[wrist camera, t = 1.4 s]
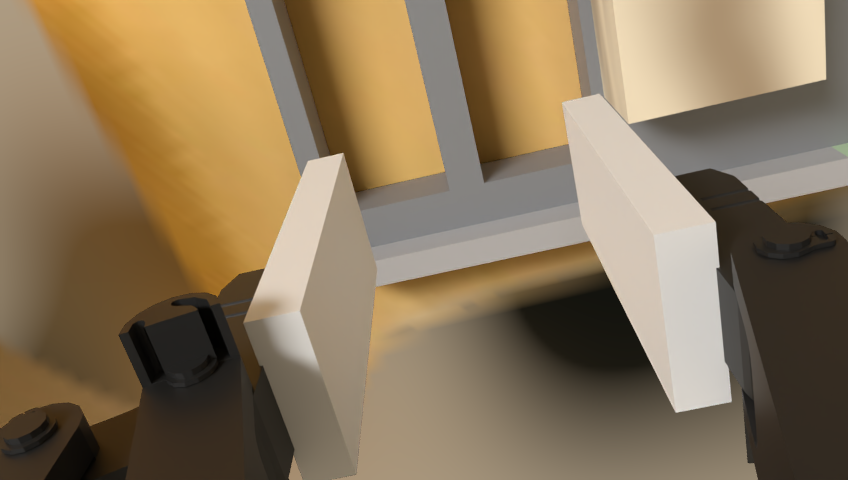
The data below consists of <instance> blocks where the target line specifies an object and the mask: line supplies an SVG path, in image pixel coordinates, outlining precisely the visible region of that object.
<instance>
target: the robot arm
mask: <svg viewBox="0 0 848 480" xmlns="http://www.w3.org/2000/svg"><path fill="white" fill-rule="evenodd" d="M562 106H563V112H564V118H565V124H566V130H567V136H568V142H569V148H570V155H571V161H572V167H573V173H574V179H575V185H576V191H577V197H578V203H579V209H580V215H581V221H582V225H583V227H584V229H585V231H586V233H587V235H588V237H589V240H590V242H591V244H592V246H593V248H594V250H595V252H596V254H597V256H598V258H599V260H600V262H601V264H602V266H603V268H604V270H605V272H606V274H607V276H608V278H609V280H610V282H611V284H612V286H613V288H614V289H615V292H616V294H617V295H618V298H619V300H620V302H621V304H622V306H623V308H624V310H625V312H626V314H627V316H628V318H629V320H630V322H631V324H632V326H633V328H634V330H635V332H636V334H637V336H638V338H639V340H640V342H641V344H642V346H643V348H644V350H645V352H646V354H647V356H648V358H649V360H650V362H651V364H652V366H653V368H654V370H655V372H656V374H657V376H658V378H659V380H660V382H661V384H662V386H663V388H664V390H665V392H666V394H667V396H668V398H669V400H670V402H671V404H672V406H673V408H674V410H675V412H676V413H677V412H681V411H687V410H692V409H697V408H702V407H707V406H712V405H718V404H723V403H728V402H732V401H731V390H730V378H729V369H730V370H731V372H732V373H733V375H734V376H735V378H736V379H737V381H738V382H739V384H740V385H741V387H742V397H743V408H744V409H743V410H744V422H745V434H746V446H747V457H748V458H747V459H748V463H754V464H755V468H756V472H757V477H758V480H848V242H847V240H846V239H844V237H842V236H841V235H840V234H839V233H838V232H837V231H835V230H832V229H829V228H826V227H824V226H821V225H815V224H808V223H800V222H796V223H787V222H785V221H784V220H783V219H782V218H781V217H780V216H779V215H778V214H777V213H775V212H774V211H773V210H772V209H771V208H770V207H769V206H768V205H766V204H765V203H764V202H763V201H760V200H759V197H758V196H756V195H755V194H754V193H753V192H752V191H751V190H750V191H749V190H748V188H747V187H746V186H745V185H744V184H743V183H742V182H741V181H740V180H739V179H737V178H736V177H735V176H733V175H730V174H727V173H724V172H721V171H717V170H714V169H711V168H709V169H704V170H700V171H695V172H691V173H686V174H682V175H677V176H674V175H673V174H672V173H671V172H670V171H669V170H668V169H667V168H666V166H665V165H664V164H663V163H662V162H661V161H660V160H659V159H658V158H657V157H656V155H655V154H654V153H653V152H652V151H651V150H650V149H649V148H648V147H647V145H646V144H645V143H644V142H643V141H642V140H641V139H640V138H639V137H638V136H637V134H636V133H635V132H634V131H633V130H632V129H631V128H630V127H629V126H628V125H627V123H626V122H625V121H624V120H623V119H622V118H621V117H620V116H619V115H618V113H617V112H616V111H615V110H614V109H613V108H612V107H611V106H610V105H609V104H608V102H607V101H606V100H605V99H604V98H603V97H602V96H601V95H600V94H596V95H592V96H587V97H583V98H579V99H574V100H570V101H566V102H562ZM376 276H377V267H376V263H375V260H374V256H373V253H372V249H371V246H370V242H369V239H368V236H367V232H366V229H365V225H364V222H363V218H362V215H361V211H360V208H359V205H358V201H357V198H356V194H355V191H354V187H353V184H352V181H351V177H350V174H349V170H348V167H347V163H346V160H345V156H344V153H340V154H336V155H332V156H327V157H323V158H319V159H314V160H310V161H308V162H307V164H306V167H305V169H304V172H303V174H302V177H301V179H300V182H299V184H298V187H297V189H296V192H295V194H294V197H293V199H292V202H291V204H290V207H289V209H288V212H287V214H286V217H285V219H284V222H283V224H282V227H281V229H280V232H279V235H278V237H277V240H276V242H275V245H274V247H273V250H272V252H271V255H270V257H269V260H268V262H267V265H266V267H265V269H260V270H256V271H251V272H247V273H242V274H239V275H238V276H237V277H236V278H234V279H233V280H232V281H231V282H230V283H229V284H228V285H227V286H226V287H225V288H223V289H222V290H221V292H220V294H219V296H218V298H217V296H215V295H212V294H209V293H190V294H186V295H181V296H177V297H173V298H170V299H168V300H165V301H163V302H160V303H157V304H155V305H153V306H151V307H149V308H148V309H146V310H144V311H142V312H141V313H139V314H137V315H136V316H135V317H134V318H132V319H131V320H130V321H129V322H128V323H127V324H125V325H124V327H123V329H122V330H121V332H120V334H119V337H120V339H121V342H122V344H123V346H124V348H125V350H126V352H127V354H128V356H129V359H130V361H131V363H132V365H133V368H134V370H135V372H136V374H137V376H138V378H139V380H140V383H141V385H142V387H143V389H142V394H141V400H140V405H139V407H137V408H135V409H133V410H131V411H128V412H126V413H123V414H121V415H118V416H116V417H113V418H111V419H108V420H106V421H103V422H100V423H98V424H95V425H93V426H89V424H88V422H87V420H86V418H85V416H84V414H83V412H82V410H81V408H80V406H78V405H75V404H72V403H58V404H51V405H48V406H44V407H41V408H33V409H31V410H28V411H26V412H25V414H24V415H23V413H22V414H20V415H18V416H16V417H14V418H13V419H11V420H10V421H9V423H8V424H6V425H5V426H3V427H2V428H0V480H289V479H288V477H289V473H290V468H291V463H292V459H293V455H294V457H295V460H296V462H297V465H298V468H299V470H300V473H301V475H302V478H303V480H331V479H337V478H341V477H347V476H352V475H356V473H357V462H358V453H359V443H360V433H361V424H362V414H363V404H364V394H365V384H366V375H367V365H368V355H369V345H370V335H371V326H372V316H373V306H374V296H375V286H376Z"/></svg>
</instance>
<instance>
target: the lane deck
mask: <svg viewBox="0 0 848 480" xmlns="http://www.w3.org/2000/svg"><path fill="white" fill-rule="evenodd" d="M245 2H246V5H247V8H248V12H249V15H250V18H251V21H252V24H253V27H254V30H255V34H256V37H257V40H258V43H259V46H260V49H261V52H262V56H263V59H264V62H265V65H266V68H267V71H268V74H269V78H270V81H271V84H272V87H273V90H274V93H275V96H276V100H277V103H278V106H279V109H280V112H281V115H282V118H283V122H284V125H285V128H286V131H287V134H288V137H289V140H290V144H291V147H292V150H293V153H294V156H295V159H296V162H297V166H298V169H299V172H300V175H301V177H302V174H303V172H304V169H305V167H306V164H307V162H308V161H310V160H314V159H319V158H323V157H327V156H330V153H329V149H328V146H327V143H326V139H325V136H324V133H323V129H322V126H321V122H320V119H319V116H318V112H317V109H316V106H315V102H314V99H313V96H312V92H311V89H310V86H309V82H308V79H307V75H306V72H305V69H304V65H303V62H302V59H301V55H300V52H299V49H298V45H297V42H296V39H295V35H294V32H293V29H292V25H291V22H290V18H289V15H288V12H287V8H286V5H285V2H284V0H245ZM405 3H406V8H407V12H408V16H409V20H410V25H411V29H412V33H413V37H414V41H415V46H416V50H417V54H418V58H419V63H420V67H421V71H422V75H423V79H424V84H425V88H426V92H427V96H428V101H429V105H430V109H431V113H432V117H433V122H434V126H435V130H436V134H437V139H438V143H439V147H440V151H441V156H442V160H443V164H444V168H445V172H444V173H439V174H435V175H430V176H426V177H421V178H417V179H413V180H408V181H404V182H399V183H395V184H390V185H386V186H382V187H377V188H373V189H368V190H364V191H359V192H355V194H356V198H357V201H358V205H359V208H360V211H361V215H362V218H363V222H364V225H365V229H366V232H367V236H368V239H369V242H370V246H371V249H372V253H373V256H374V260H375V263H376V267H377V276H376V286H375V287H378V286H382V285H387V284H392V283H396V282H401V281H406V280H410V279H415V278H420V277H424V276H429V275H434V274H438V273H443V272H448V271H452V270H457V269H462V268H466V267H471V266H476V265H480V264H485V263H490V262H494V261H499V260H504V259H508V258H513V257H517V256H522V255H527V254H531V253H536V252H541V251H545V250H550V249H555V248H559V247H564V246H569V245H573V244H578V243H583V242H587V241H590V240H589V237H588V235H587V233H586V231H585V229H584V227H583V225H582V221H581V215H580V209H579V203H578V197H577V191H576V185H575V179H574V173H573V167H572V161H571V155H570V148H569V144H568V145H563V146H559V147H554V148H550V149H545V150H541V151H537V152H532V153H528V154H523V155H519V156H514V157H510V158H506V159H501V160H497V161H492V162H488V163H483V164H480V161H479V157H478V152H477V148H476V143H475V138H474V134H473V129H472V124H471V120H470V115H469V111H468V106H467V101H466V97H465V92H464V87H463V83H462V78H461V74H460V69H459V64H458V60H457V55H456V51H455V46H454V41H453V37H452V32H451V27H450V23H449V18H448V14H447V9H446V4H445V0H405ZM567 3H568V9H569V16H570V22H571V29H572V35H573V42H574V48H575V55H576V61H577V68H578V74H579V81H580V87H581V94H582V98H583V97H587V96H592V95H596V94H600V95H601V96H602V97H603V98H604V92H603V85H602V78H601V71H600V64H599V57H598V50H597V43H596V36H595V28H594V21H593V14H592V7H591V0H567ZM824 4H825V47H826V80H821V81H817V82H812V83H808V84H804V85H799V86H795V87H790V88H786V89H782V90H777V91H773V92H768V93H764V94H759V95H755V96H751V97H746V98H742V99H737V100H733V101H729V102H724V103H720V104H715V105H711V106H707V107H702V108H698V109H693V110H689V111H684V112H680V113H676V114H671V115H667V116H662V117H658V118H654V119H649V120H645V121H640V122H636V123H632V124H628V123H627V122H626V121H625V119H624V118H623V117H622V116H621V115H620V114H619V113H618V112H617V111H616V110H615V108H614V107H613V106H612V105H611V104H610V103H609V102H608V101H607V100H606V99H605V98H604V99H605V100H606V101H607V102H608V104H609V105H610V106H611V107H612V108H613V109H614V110H615V111H616V112H617V113H618V115H619V116H620V117H621V118H622V119H623V120H624V121H625V122H626V123H627V125H628V126H629V127H630V128H631V129H632V130H633V131H634V132H635V133H636V134H637V136H638V137H639V138H640V139H641V140H642V141H643V142H644V143H645V144H646V145H647V147H648V148H649V149H650V150H651V151H652V152H653V153H654V154H655V155H656V157H657V158H658V159H659V160H660V161H661V162H662V163H663V164H664V165H665V166H666V168H667V169H668V170H669V171H670V172H671V173H672V174H673V175H674V176H677V175H682V174H686V173H691V172H695V171H700V170H704V169H709V168H711V169H714V170H717V171H721V172H724V173H727V174H730V175H733V176H735V177H736V178H737V179H739V180H740V181H741V182H742V183H743V184H744V185H745V186H746V187H747V188H748V190H749V191H750V190H751V191H752V192H753V193H754V194H755V195H756V196H758V197H759V200H760V201H763V202H764V203H769V202H774V201H778V200H783V199H788V198H792V197H797V196H802V195H806V194H811V193H816V192H820V191H825V190H830V189H834V188H839V187H844V186H848V0H824Z"/></svg>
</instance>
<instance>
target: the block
mask: <svg viewBox="0 0 848 480" xmlns="http://www.w3.org/2000/svg"><path fill="white" fill-rule="evenodd" d="M591 7H592V14H593V21H594V28H595V36H596V43H597V50H598V57H599V64H600V71H601V78H602V85H603V92H604V98H605V99H606V100H607V101H608V102H609V103H610V104H611V105H612V106H613V107H614V108H615V110H616V111H617V112H618V113H619V114H620V115H621V116H622V117H623V118H624V119H625V121H626V122H627V123H628V124H632V123H636V122H640V121H645V120H649V119H654V118H658V117H662V116H667V115H671V114H676V113H680V112H684V111H689V110H693V109H698V108H702V107H707V106H711V105H715V104H720V103H724V102H729V101H733V100H737V99H742V98H746V97H751V96H755V95H759V94H764V93H768V92H773V91H777V90H782V89H786V88H790V87H795V86H799V85H804V84H808V83H812V82H817V81H821V80H826V47H825V4H824V0H591Z"/></svg>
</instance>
